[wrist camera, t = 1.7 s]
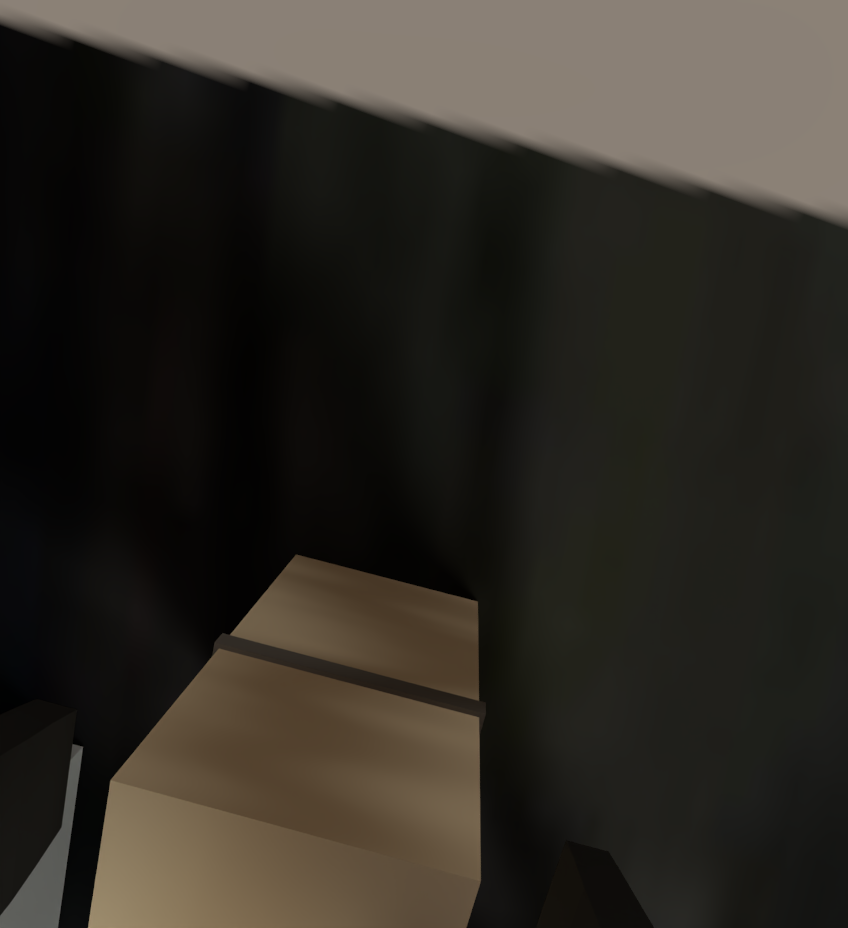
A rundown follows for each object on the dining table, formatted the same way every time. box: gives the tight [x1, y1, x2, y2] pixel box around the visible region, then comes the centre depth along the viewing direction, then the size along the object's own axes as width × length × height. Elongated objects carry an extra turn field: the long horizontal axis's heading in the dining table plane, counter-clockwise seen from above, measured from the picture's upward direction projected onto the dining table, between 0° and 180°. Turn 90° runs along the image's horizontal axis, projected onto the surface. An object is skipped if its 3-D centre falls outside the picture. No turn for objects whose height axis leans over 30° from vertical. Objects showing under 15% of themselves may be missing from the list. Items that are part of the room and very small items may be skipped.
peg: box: [88, 555, 486, 928], centre depth 10 cm, size 4×4×7 cm
